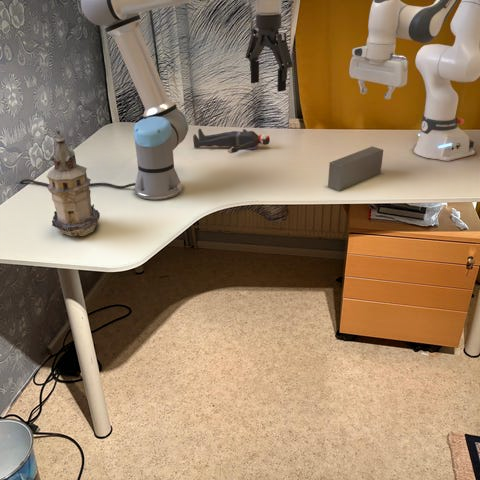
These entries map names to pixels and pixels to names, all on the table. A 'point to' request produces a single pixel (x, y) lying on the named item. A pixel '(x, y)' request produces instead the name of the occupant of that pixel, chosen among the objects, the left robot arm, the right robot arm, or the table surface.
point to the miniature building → (70, 193)
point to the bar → (355, 168)
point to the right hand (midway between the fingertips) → (375, 96)
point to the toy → (231, 140)
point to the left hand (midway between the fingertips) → (267, 86)
